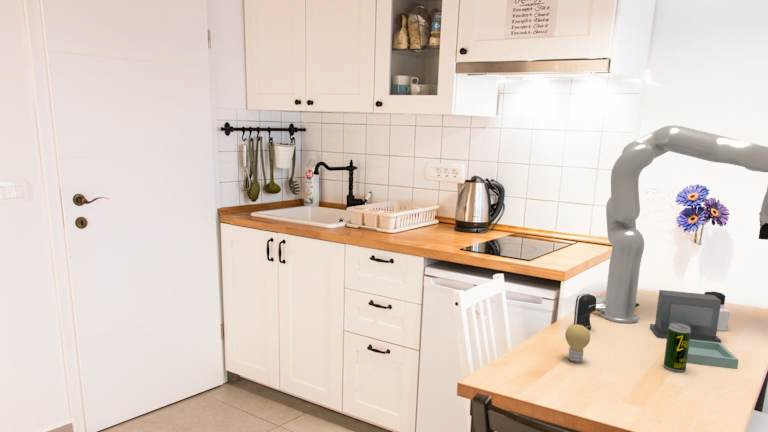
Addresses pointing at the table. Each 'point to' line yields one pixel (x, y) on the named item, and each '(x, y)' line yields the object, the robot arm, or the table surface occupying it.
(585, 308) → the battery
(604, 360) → the table surface
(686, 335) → the beer can
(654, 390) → the table surface
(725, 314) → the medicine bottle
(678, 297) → the housing
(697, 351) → the tray
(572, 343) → the light bulb
